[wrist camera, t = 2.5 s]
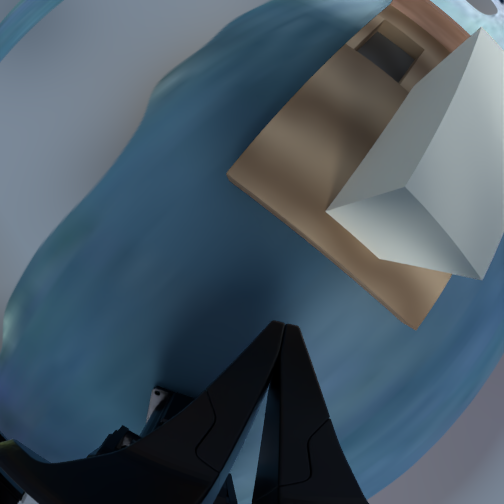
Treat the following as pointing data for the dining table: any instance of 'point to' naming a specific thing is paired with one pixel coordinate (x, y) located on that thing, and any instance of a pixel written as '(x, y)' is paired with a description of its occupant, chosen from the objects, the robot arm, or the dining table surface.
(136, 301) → the dining table surface
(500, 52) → the light gray block
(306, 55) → the dining table surface
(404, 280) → the trap deck
